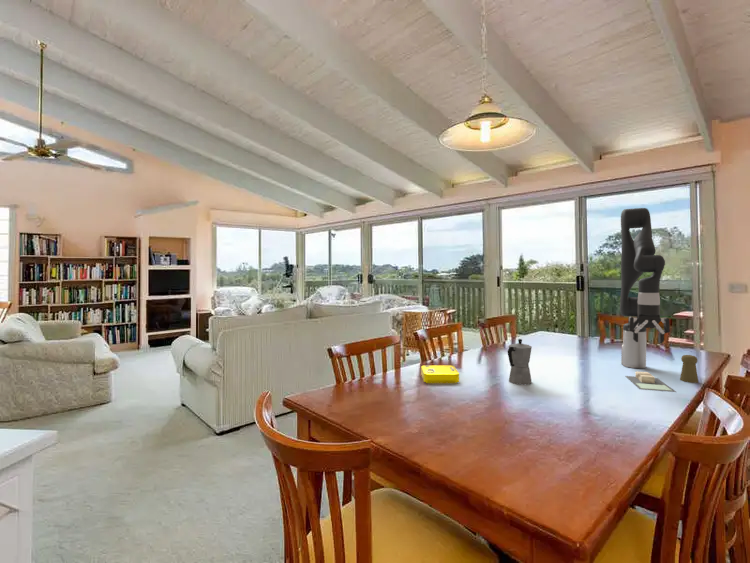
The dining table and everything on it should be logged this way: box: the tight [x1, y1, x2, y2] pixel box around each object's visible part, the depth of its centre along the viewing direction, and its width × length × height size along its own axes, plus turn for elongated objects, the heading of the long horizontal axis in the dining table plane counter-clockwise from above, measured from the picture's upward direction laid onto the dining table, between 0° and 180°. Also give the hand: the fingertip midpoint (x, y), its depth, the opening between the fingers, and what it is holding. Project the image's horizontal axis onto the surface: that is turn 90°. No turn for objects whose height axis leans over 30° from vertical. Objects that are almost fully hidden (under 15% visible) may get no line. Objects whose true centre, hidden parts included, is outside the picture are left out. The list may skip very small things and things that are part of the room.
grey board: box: [625, 375, 677, 393], centre depth 158 cm, size 20×12×1 cm, turn 161°
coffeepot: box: [507, 338, 533, 385], centre depth 163 cm, size 15×9×18 cm, turn 129°
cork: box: [679, 354, 699, 384], centre depth 161 cm, size 6×6×11 cm
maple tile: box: [635, 371, 656, 383], centre depth 163 cm, size 8×4×2 cm, turn 161°
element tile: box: [420, 364, 460, 384], centre depth 170 cm, size 15×15×5 cm
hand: (648, 342), depth 162 cm, fingers open, 8 cm apart
